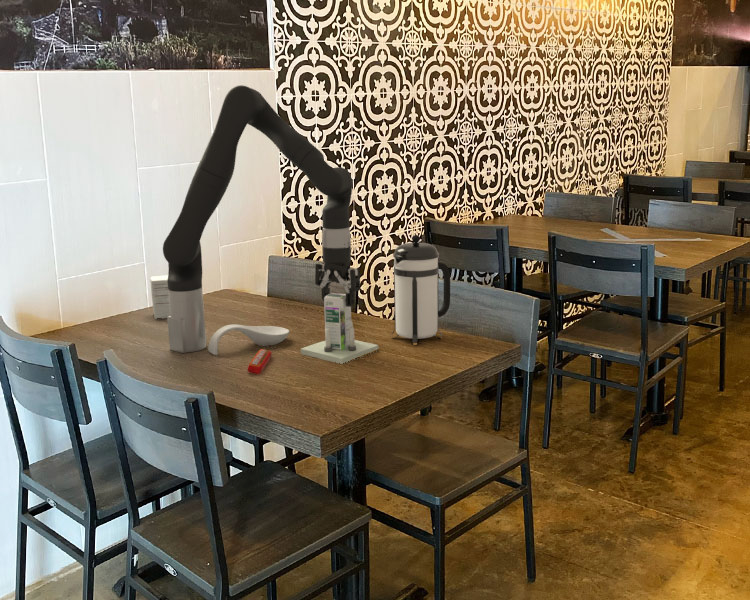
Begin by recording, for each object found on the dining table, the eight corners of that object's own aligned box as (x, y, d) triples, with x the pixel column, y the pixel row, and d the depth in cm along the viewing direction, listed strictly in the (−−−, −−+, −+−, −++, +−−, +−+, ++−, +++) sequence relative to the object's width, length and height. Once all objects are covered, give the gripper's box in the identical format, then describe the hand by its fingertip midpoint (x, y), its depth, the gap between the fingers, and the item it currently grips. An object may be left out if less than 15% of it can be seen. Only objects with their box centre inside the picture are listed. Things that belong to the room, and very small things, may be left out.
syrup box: (324, 349, 223) (323, 296, 219) (333, 343, 228) (331, 292, 225) (344, 350, 221) (342, 298, 217) (352, 344, 226) (351, 293, 223)
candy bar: (260, 377, 207) (259, 365, 206) (246, 376, 207) (245, 365, 207) (273, 357, 223) (272, 346, 222) (259, 357, 223) (259, 346, 222)
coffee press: (443, 347, 227) (443, 239, 220) (386, 345, 230) (384, 239, 223) (450, 330, 244) (450, 229, 237) (397, 328, 247) (395, 229, 240)
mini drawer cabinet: (153, 314, 270) (149, 276, 267) (176, 311, 272) (173, 274, 269) (154, 319, 263) (150, 280, 260) (177, 317, 265) (174, 278, 262)
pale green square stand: (341, 364, 215) (340, 336, 213) (300, 354, 224) (299, 327, 222) (378, 350, 226) (378, 323, 224) (338, 341, 235) (337, 315, 233)
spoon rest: (276, 335, 244) (275, 311, 242) (297, 344, 234) (296, 319, 233) (202, 350, 230) (200, 325, 228) (221, 360, 221) (219, 334, 219)
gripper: (307, 243, 219) (309, 302, 223) (347, 249, 210) (348, 310, 214) (326, 239, 225) (328, 297, 229) (366, 245, 216) (367, 305, 220)
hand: (338, 303), depth 222 cm, fingers open, 8 cm apart
